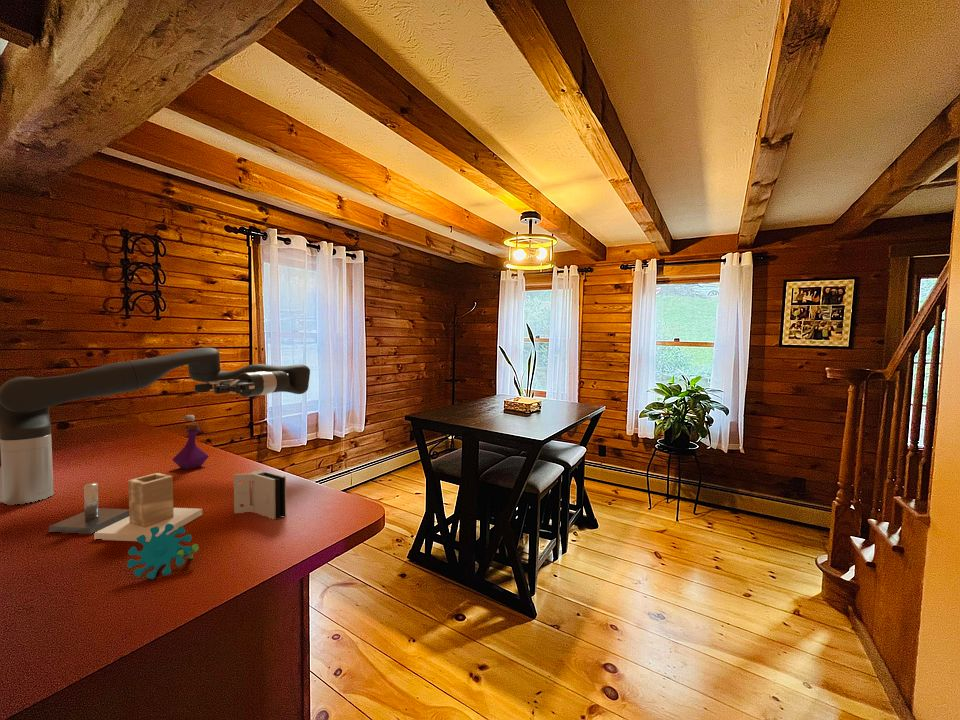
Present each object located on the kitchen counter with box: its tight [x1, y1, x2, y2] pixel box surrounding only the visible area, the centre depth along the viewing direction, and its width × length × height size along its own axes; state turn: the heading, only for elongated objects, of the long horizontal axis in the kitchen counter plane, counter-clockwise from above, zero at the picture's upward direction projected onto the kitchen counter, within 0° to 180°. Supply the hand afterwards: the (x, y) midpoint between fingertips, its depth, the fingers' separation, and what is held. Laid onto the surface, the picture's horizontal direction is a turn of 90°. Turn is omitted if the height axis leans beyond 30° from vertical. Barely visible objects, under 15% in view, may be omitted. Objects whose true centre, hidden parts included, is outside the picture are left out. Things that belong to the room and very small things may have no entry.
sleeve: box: [127, 472, 174, 528], centre depth 96 cm, size 6×6×10 cm
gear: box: [126, 524, 200, 580], centre depth 80 cm, size 11×6×10 cm
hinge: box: [233, 469, 287, 520], centre depth 104 cm, size 14×5×10 cm, turn 74°
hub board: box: [93, 507, 203, 543], centre depth 96 cm, size 14×14×8 cm
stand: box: [48, 482, 129, 535], centre depth 97 cm, size 10×10×10 cm
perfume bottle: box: [171, 414, 210, 470], centre depth 139 cm, size 8×8×18 cm
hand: (205, 389), depth 115 cm, fingers open, 8 cm apart
